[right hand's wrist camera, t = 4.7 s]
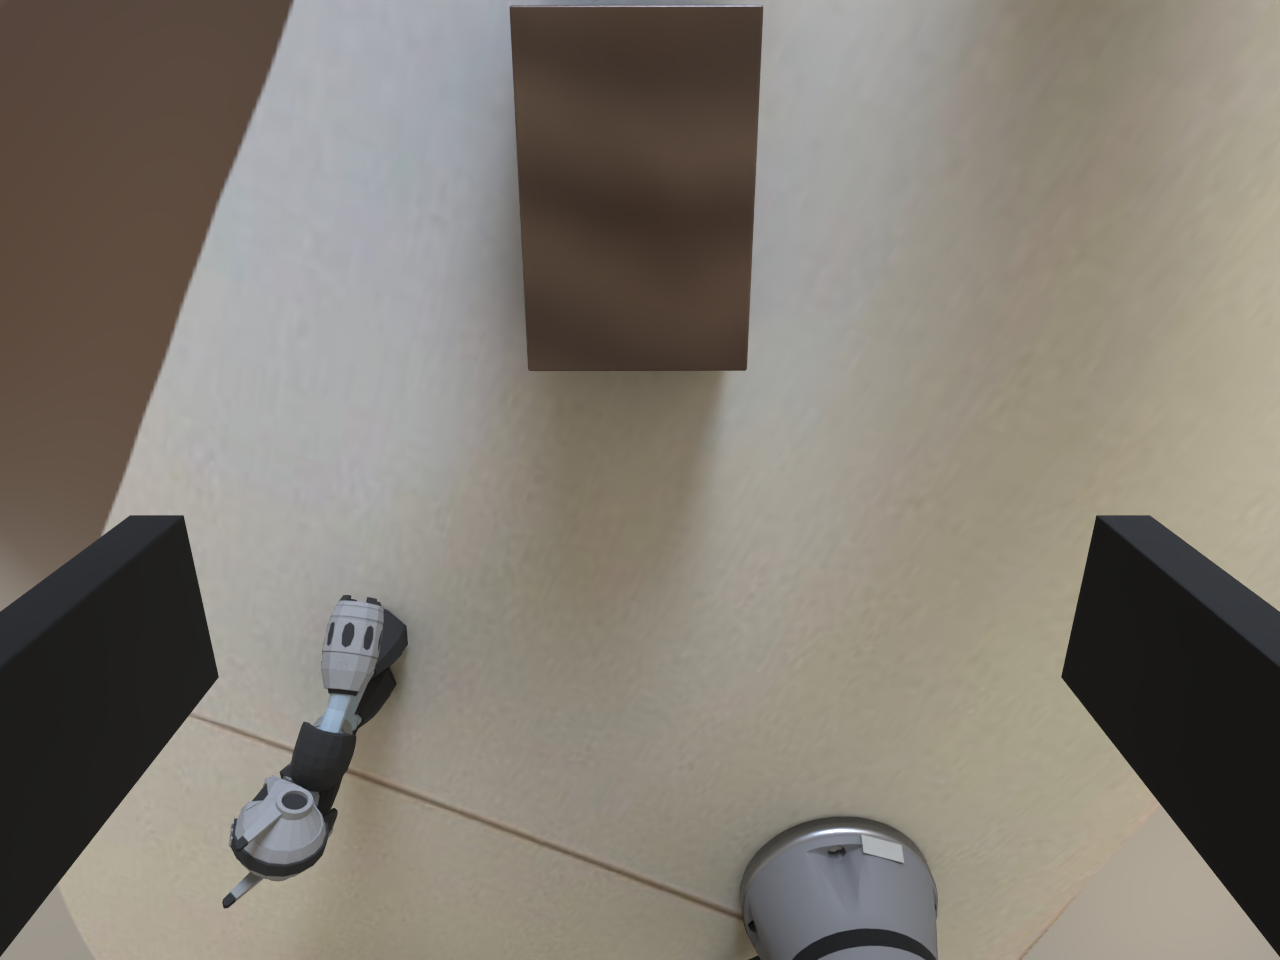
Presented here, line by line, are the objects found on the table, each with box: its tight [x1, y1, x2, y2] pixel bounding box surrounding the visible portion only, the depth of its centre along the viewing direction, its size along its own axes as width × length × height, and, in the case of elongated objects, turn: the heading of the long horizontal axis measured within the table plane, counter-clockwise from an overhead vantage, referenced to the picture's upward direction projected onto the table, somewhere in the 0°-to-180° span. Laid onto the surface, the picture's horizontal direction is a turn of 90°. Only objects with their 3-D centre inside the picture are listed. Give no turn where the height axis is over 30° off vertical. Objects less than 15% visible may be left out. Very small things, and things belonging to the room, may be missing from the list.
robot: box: [222, 595, 408, 908], centre depth 51 cm, size 20×5×20 cm, turn 161°
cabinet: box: [510, 5, 763, 371], centre depth 45 cm, size 17×11×8 cm
